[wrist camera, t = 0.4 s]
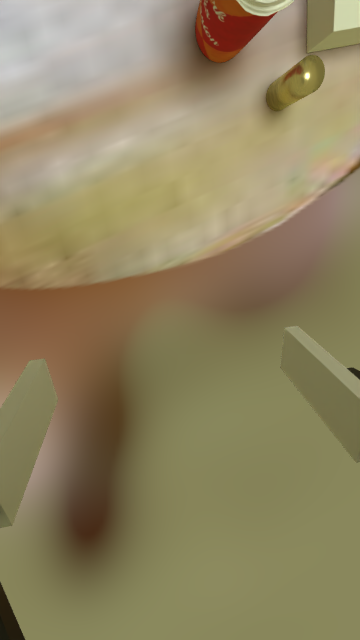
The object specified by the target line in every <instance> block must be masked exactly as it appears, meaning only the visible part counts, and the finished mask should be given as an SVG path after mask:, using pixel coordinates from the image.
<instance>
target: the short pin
mask: <svg viewBox="0 0 360 640" xmlns="http://www.w3.org/2000/svg"><path fill="white" fill-rule="evenodd" d="M324 74H325V68H324V64H323V62H322V60H321V59H320V58H319V57H318V56H316V55H309V56H307V57H305V58H304V59H303V60H301V61H300V62H299V63H297V64H296V65H295V66H294V67H292V68H291V69H290V70H288V71H287V72H286V73H285V74H283V75H282V76H281V77H279V78H278V79H277V80H276V81H274V82H273V83H272V84H271V85H270V86H269V88H268V90H267V95H266V100H267V104H268V106H269V107H270V108H271V109H272V110H274V111H279V110H282V109H284V108H286V107H287V106H289V105H291V104H293V103H295V102H297V101H298V100H300V99H302V98H304V97H306V96H308V95H309V94H311V93H313V92H315V91H316V90H317V89H318V88H319V87H320V85H321V84H322V82H323V79H324Z"/></svg>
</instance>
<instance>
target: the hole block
mask: <svg viewBox="0 0 360 640" xmlns="http://www.w3.org/2000/svg"><path fill="white" fill-rule="evenodd" d="M355 44H360V0H307V53H310V52H316V51H321V50H327V49H332V48H338V47H344V46H349V45H355Z"/></svg>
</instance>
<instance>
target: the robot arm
mask: <svg viewBox="0 0 360 640" xmlns="http://www.w3.org/2000/svg"><path fill="white" fill-rule="evenodd" d="M281 357H282V358H281V367H280V368H281V369H282V370H283V372H284V373H285V374H286V376H287V377H288V378H289V379H290V381H291V382H292V383H293V384H294V386H295V387H296V388H297V389H298V391H299V392H300V393H301V394H302V395H303V397H304V398H305V399H306V401H307V402H308V403H309V404H310V406H311V407H312V408H313V409H314V411H315V412H316V413H317V414H318V416H319V417H320V418H321V419H322V421H323V422H324V423H325V424H326V426H327V427H328V428H329V429H330V431H331V432H332V433H333V434H334V436H335V437H336V438H337V439H338V441H339V442H340V443H341V444H342V446H343V447H344V448H345V450H346V451H347V452H348V453H349V454H350V456H351V457H352V458H353V459H354V461H355V462H356V463H358V462H360V371H358V370H356V369H354V368H345V367H344V366H343V365H342V364H341V363H340V362H338V361H337V360H336V359H335V358H334V357H333V356H332V355H330V354H329V353H328V352H327V351H326V350H325V349H323V348H322V347H321V346H320V345H319V344H318V343H316V342H315V341H314V340H313V339H312V338H311V337H309V336H308V335H307V334H306V333H305V332H304V331H302V330H301V329H300V328H299V327H298V326H294V327H286V328H284V337H283V347H282V356H281ZM57 402H58V398H57V394H56V391H55V388H54V386H53V382H52V379H51V376H50V373H49V370H48V367H47V364H46V361H45V359H39V360H30V361H29V362H28V364H27V366H26V367H25V369H24V371H23V372H22V374H21V376H20V377H19V379H18V380H17V382H16V384H15V386H14V387H13V389H12V391H11V392H10V394H9V395H8V397H7V398H6V400H5V402H4V403H3V405H2V407H1V408H0V528H2V527H7V526H12V525H13V522H14V520H15V517H16V514H17V511H18V509H19V506H20V503H21V501H22V498H23V495H24V492H25V490H26V487H27V484H28V481H29V478H30V476H31V473H32V470H33V468H34V465H35V462H36V459H37V456H38V454H39V451H40V448H41V445H42V443H43V440H44V437H45V435H46V432H47V429H48V426H49V424H50V421H51V418H52V415H53V413H54V410H55V407H56V404H57ZM0 640H25V638H24V636H23V633H22V631H21V629H20V627H19V624H18V622H17V620H16V617H15V615H14V613H13V610H12V608H11V606H10V603H9V601H8V599H7V596H6V594H5V592H4V590H3V587H2V585H1V583H0Z"/></svg>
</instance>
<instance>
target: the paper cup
mask: <svg viewBox="0 0 360 640" xmlns="http://www.w3.org/2000/svg"><path fill="white" fill-rule="evenodd" d="M293 1H294V0H200V3H199V8H198V13H197V18H196V26H195V31H196V39H197V43H198V46H199V48H200V50H201V51H202V53H203V54H204V55H205V56H206V57H207V58H208V59H209V60H211V61H214V62H218V63H222V62H226V61H228V60H230V59H232V58H233V57H234V56H235V55H236V54H238V53H239V52H240V51H241V50H242V49H243V48H244V47H245V45H246V44H247V43H248V42H249V41H250V40H251V39H252V38H253V37H254V36H255V35H256V34H257V33H258V32H259V31H260V30H261V29H262V28H263V27H264V26H265V25H266V24H267V22H268V21H269V20H270V19H271V18H272V17H273V16H274V15H275V14H276V13H277V12H278V11H280V10H282V9H284V8H285V7H287V6H288V5H290V4H291V3H292V2H293Z"/></svg>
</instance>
